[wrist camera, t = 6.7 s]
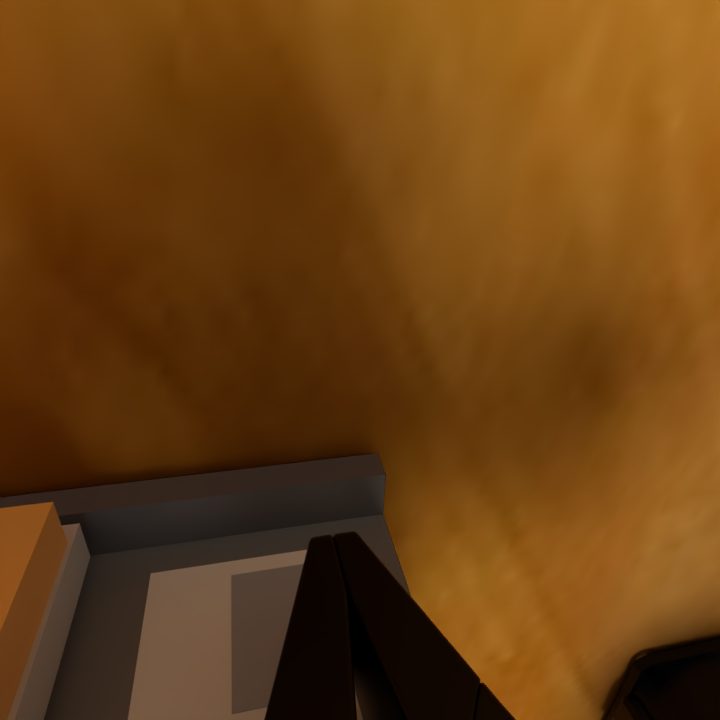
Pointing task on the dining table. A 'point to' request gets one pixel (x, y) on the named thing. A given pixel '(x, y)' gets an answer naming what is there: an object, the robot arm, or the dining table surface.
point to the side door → (35, 603)
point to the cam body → (200, 584)
